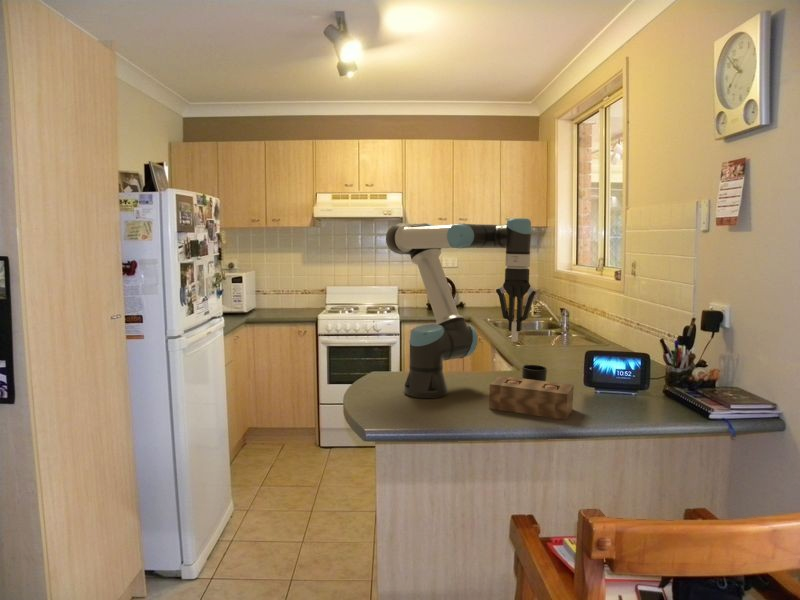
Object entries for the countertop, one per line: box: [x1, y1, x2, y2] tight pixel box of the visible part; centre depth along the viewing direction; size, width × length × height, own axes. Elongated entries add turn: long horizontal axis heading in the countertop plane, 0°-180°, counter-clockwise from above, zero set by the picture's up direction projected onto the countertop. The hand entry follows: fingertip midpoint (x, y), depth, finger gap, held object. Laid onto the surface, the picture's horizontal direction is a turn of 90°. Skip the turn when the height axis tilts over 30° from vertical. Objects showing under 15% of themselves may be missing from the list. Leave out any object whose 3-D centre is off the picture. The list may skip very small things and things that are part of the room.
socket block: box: [488, 375, 575, 421], centre depth 179 cm, size 24×12×8 cm, turn 64°
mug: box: [521, 364, 548, 381], centre depth 197 cm, size 8×12×10 cm
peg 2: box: [545, 385, 557, 390], centre depth 176 cm, size 4×4×8 cm
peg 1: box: [508, 381, 519, 385], centre depth 181 cm, size 4×4×8 cm
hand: (514, 341), depth 180 cm, fingers closed
